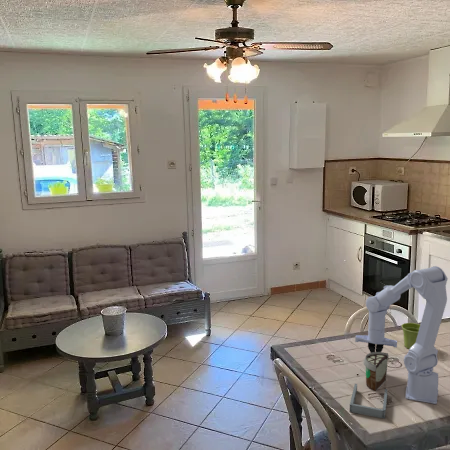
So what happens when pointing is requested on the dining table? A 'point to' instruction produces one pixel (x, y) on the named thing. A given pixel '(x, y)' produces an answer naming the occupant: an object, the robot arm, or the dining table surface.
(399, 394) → the dining table surface
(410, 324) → the plant pot
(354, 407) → the bay
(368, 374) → the food container
